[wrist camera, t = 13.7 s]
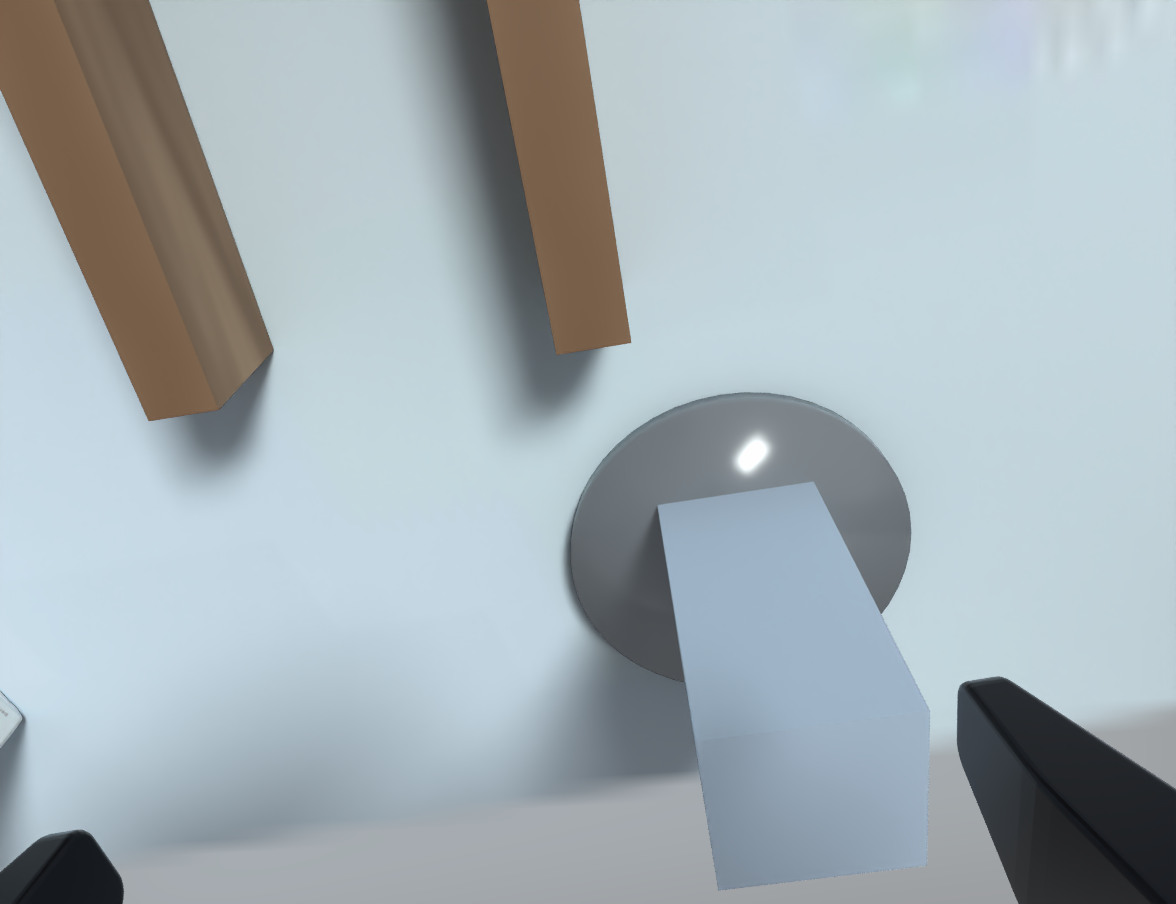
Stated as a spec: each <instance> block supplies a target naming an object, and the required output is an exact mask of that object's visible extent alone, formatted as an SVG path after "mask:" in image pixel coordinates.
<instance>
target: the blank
mask: <svg viewBox="0 0 1176 904" xmlns="http://www.w3.org/2000/svg"><path fill="white" fill-rule="evenodd" d="M657 506H658V513H659V519H660V525H661V532H662V538H663V545H664V551H665V558H666V564H667V571H668V577H669V584H670V590H671V597H672V603H673V610H674V616H675V623H676V629H677V635H678V642H679V648H680V654H681V660H682V667H683V673H684V679H685V685H686V692H687V698H688V704H689V710H690V716H691V723H692V729H693V735H694V741H695V748H696V754H697V760H698V766H699V773H700V779H701V785H702V791H703V798H704V803H705V810H706V816H707V822H708V829H709V835H710V841H711V847H712V854H713V860H714V866H715V872H716V878H717V885H718V890H726V889H735V888H743V887H752V886H760V885H768V884H777V883H785V882H794V881H802V880H809V879H819V878H827V877H836V876H844V875H852V874H860V873H869V872H878V871H886V870H894V869H903V868H911V867H919V866H926V865H927V839H928V837H927V836H928V788H929V784H928V783H929V736H930V710H929V708H928V706H927V704H926V702H925V700H924V698H923V696H922V694H921V692H920V690H919V688H918V686H917V684H916V682H915V680H914V678H913V676H912V674H911V672H910V670H909V668H908V666H907V665H906V663H905V661H904V659H903V657H902V655H901V653H900V651H899V649H898V647H897V645H896V643H895V641H894V639H893V637H892V635H891V633H890V631H889V629H888V627H887V625H886V623H885V621H884V619H883V617H882V615H881V613H880V611H879V609H878V607H877V605H876V603H875V601H874V599H873V598H872V596H871V594H870V592H869V590H868V588H867V586H866V584H865V582H864V580H863V578H862V576H861V574H860V572H859V570H858V568H857V566H856V564H855V562H854V560H853V558H852V556H851V554H850V552H849V550H848V548H847V546H846V544H845V542H844V540H843V538H842V536H841V534H840V532H839V531H838V529H837V527H836V525H835V523H834V521H833V519H832V517H831V515H830V513H829V511H828V509H827V507H826V505H825V503H824V501H823V499H822V497H821V495H820V493H819V491H818V489H817V487H816V485H815V483H814V482H807V483H801V484H794V485H787V486H781V487H774V488H767V489H761V490H754V491H748V492H741V493H734V494H728V495H721V496H714V497H708V498H701V499H694V500H688V501H681V502H675V503H668V504H661V505H657Z"/></svg>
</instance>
